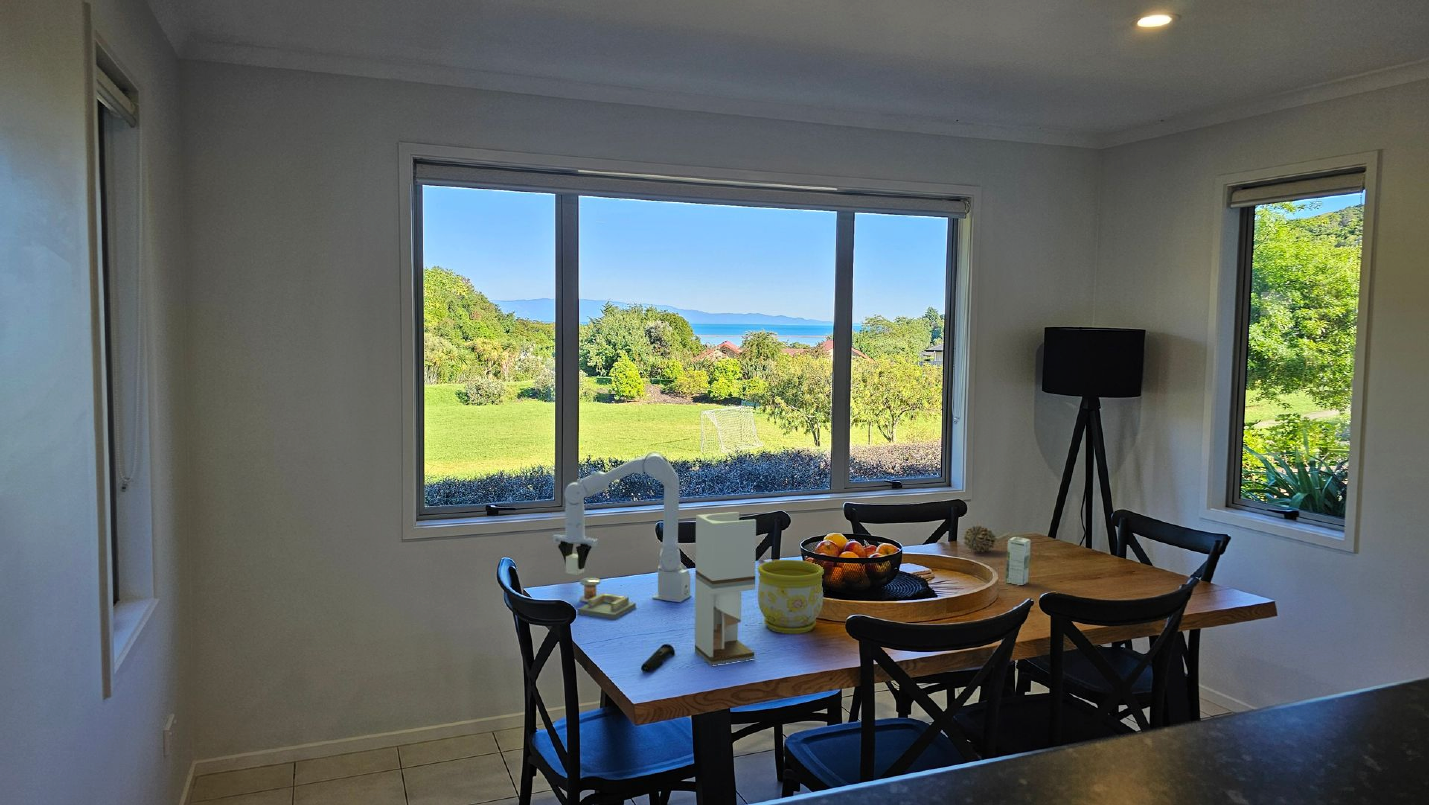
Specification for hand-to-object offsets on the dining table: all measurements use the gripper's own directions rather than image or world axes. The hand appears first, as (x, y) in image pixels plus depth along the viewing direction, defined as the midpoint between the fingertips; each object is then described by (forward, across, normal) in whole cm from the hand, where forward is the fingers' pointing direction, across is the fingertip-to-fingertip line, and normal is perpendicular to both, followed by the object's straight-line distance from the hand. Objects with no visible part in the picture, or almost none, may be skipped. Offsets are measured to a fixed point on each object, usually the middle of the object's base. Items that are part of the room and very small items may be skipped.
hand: (575, 567), depth 274 cm
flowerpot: (+10, +67, +4) cm, 68 cm away
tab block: (+1, 0, 0) cm, 1 cm away
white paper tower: (+10, +60, -25) cm, 66 cm away
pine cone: (+10, +103, +118) cm, 157 cm away
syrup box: (+10, +118, +77) cm, 142 cm away
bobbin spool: (+9, +5, 0) cm, 11 cm away
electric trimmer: (+10, +48, -36) cm, 61 cm away
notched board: (+9, +15, -7) cm, 19 cm away
